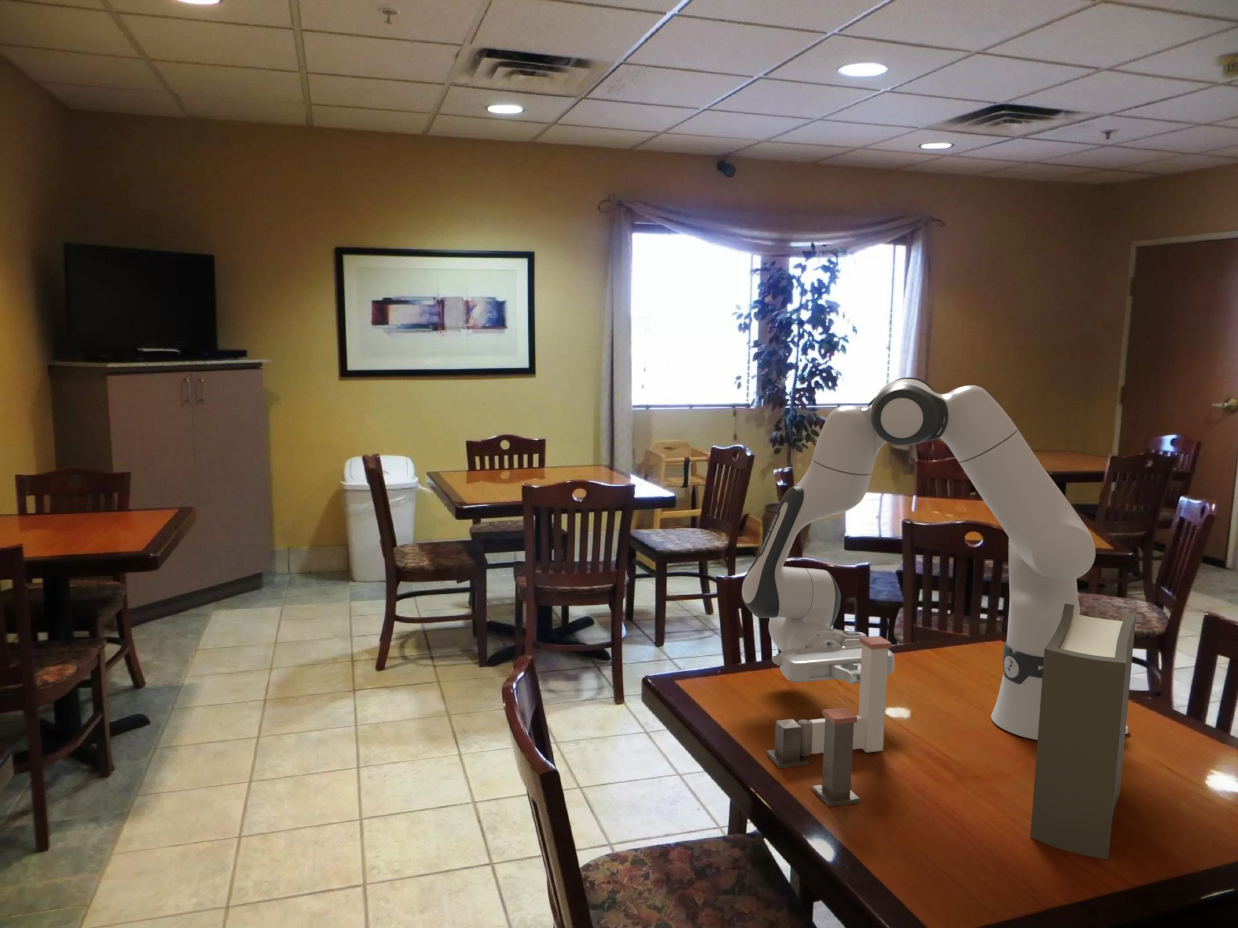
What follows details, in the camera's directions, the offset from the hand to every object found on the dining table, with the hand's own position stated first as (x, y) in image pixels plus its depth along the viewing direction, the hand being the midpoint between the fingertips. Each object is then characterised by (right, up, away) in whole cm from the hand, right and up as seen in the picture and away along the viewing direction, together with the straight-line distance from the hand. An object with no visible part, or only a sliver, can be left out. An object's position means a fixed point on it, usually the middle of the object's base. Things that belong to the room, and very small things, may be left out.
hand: (858, 678), depth 149 cm
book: (+25, -14, -23) cm, 37 cm away
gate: (-5, -11, -5) cm, 12 cm away
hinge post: (-13, -11, -7) cm, 19 cm away
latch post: (-8, -13, -18) cm, 24 cm away
